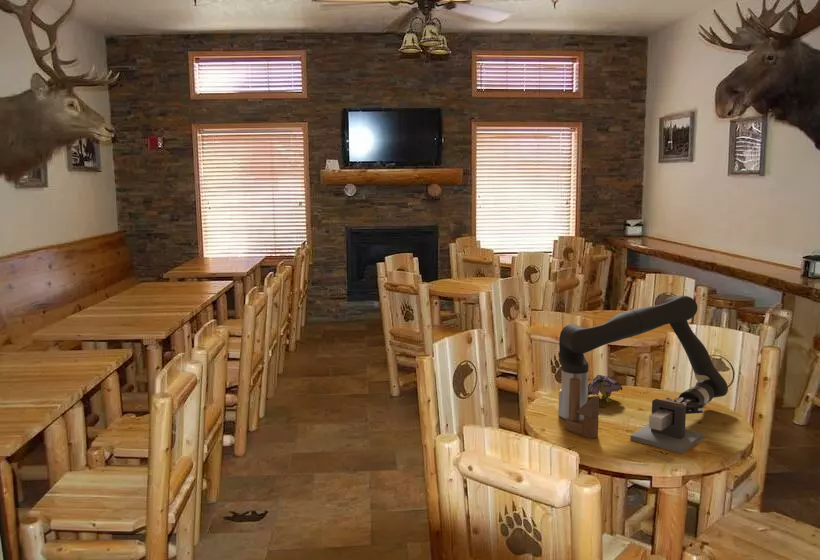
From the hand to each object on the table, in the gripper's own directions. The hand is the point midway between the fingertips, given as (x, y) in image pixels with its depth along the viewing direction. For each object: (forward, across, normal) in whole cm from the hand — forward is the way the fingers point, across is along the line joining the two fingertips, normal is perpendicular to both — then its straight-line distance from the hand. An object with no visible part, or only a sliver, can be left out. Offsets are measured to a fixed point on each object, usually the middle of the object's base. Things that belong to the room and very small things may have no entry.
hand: (673, 411), depth 224 cm
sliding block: (+7, 0, +3) cm, 8 cm away
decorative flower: (-16, -34, +8) cm, 38 cm away
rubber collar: (+4, 0, +6) cm, 8 cm away
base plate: (+4, 0, +8) cm, 9 cm away
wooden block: (+18, -23, +8) cm, 31 cm away
